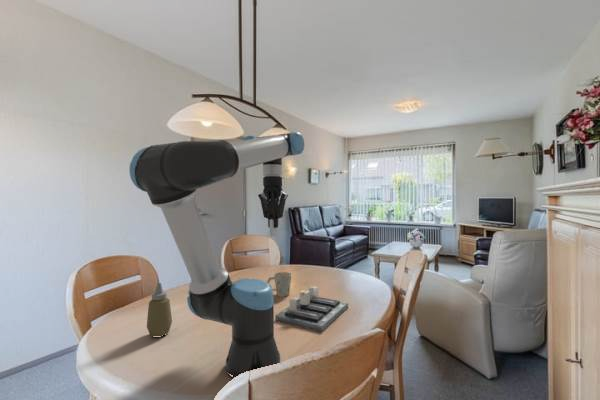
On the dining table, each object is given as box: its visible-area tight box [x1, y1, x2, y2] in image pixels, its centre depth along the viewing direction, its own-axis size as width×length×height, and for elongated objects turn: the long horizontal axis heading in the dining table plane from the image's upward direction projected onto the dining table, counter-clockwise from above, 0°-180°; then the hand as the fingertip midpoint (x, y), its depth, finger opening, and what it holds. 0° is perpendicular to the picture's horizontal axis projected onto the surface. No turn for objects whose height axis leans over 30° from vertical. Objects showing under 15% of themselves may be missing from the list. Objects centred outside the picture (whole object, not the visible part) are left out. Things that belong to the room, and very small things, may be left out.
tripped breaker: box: [299, 289, 310, 305], centre depth 121 cm, size 3×3×5 cm
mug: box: [266, 271, 292, 297], centre depth 143 cm, size 8×13×10 cm, turn 78°
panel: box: [274, 285, 349, 332], centre depth 119 cm, size 26×20×8 cm
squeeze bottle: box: [146, 282, 173, 337], centre depth 102 cm, size 8×8×18 cm
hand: (273, 235), depth 115 cm, fingers closed
